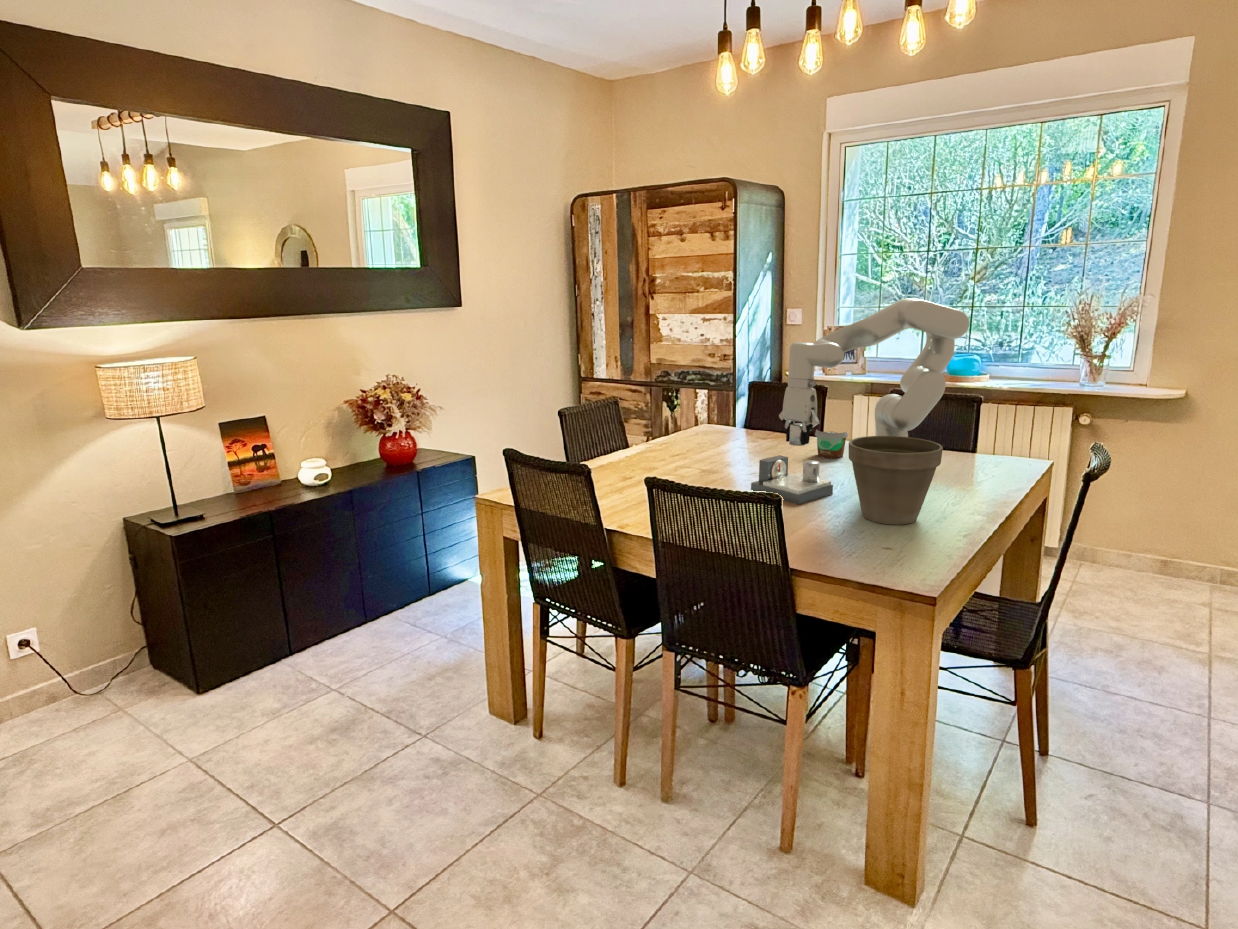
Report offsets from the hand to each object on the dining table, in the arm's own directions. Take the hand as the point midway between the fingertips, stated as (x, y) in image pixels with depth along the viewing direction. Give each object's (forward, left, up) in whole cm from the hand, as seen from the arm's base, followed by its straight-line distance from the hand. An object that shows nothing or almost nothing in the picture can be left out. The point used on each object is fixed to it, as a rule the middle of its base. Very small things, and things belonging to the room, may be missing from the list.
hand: (797, 441), depth 231 cm
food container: (+24, -52, -18) cm, 60 cm away
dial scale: (+3, -3, -18) cm, 18 cm away
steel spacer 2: (-1, -7, -13) cm, 15 cm away
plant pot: (-31, -4, -18) cm, 36 cm away
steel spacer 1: (0, 0, -1) cm, 1 cm away
